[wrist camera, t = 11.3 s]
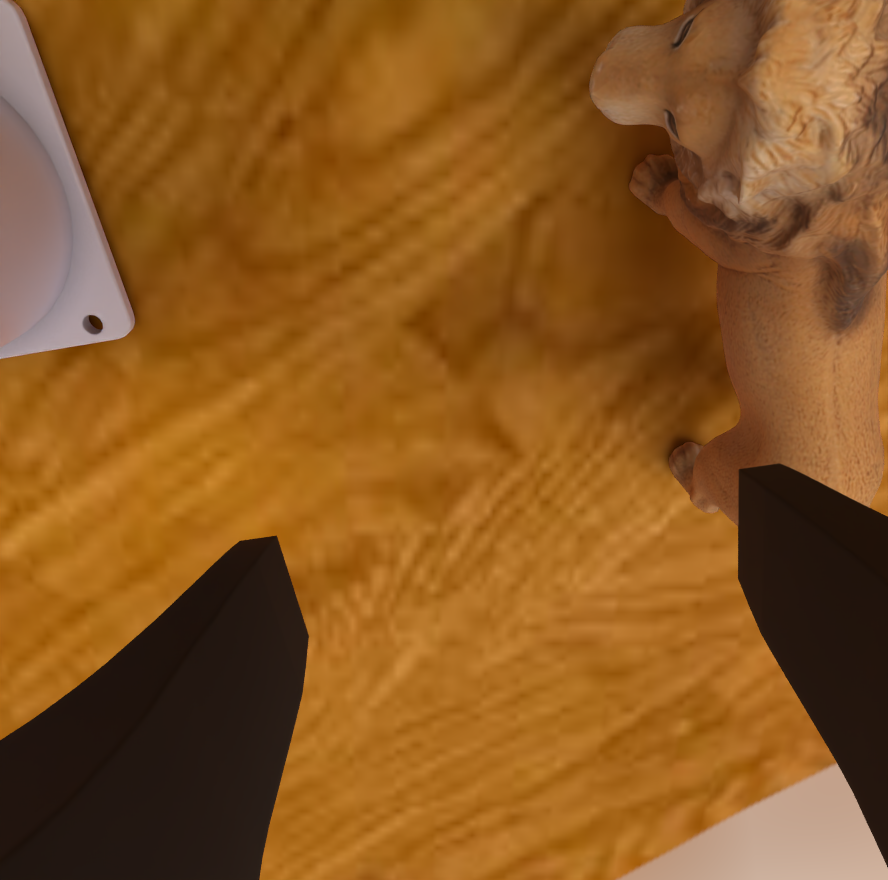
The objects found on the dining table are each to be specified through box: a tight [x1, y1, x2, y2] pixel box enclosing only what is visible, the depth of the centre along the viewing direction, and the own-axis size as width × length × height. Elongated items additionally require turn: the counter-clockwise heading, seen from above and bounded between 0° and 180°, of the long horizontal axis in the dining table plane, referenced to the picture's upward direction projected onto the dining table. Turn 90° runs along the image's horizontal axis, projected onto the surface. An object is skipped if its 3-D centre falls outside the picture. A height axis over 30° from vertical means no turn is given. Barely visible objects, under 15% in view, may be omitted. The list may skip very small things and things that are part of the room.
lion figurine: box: [589, 0, 888, 526], centre depth 16 cm, size 15×5×9 cm, turn 22°
